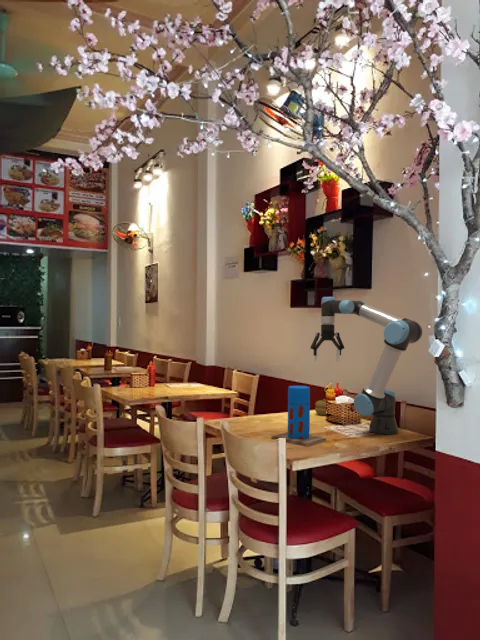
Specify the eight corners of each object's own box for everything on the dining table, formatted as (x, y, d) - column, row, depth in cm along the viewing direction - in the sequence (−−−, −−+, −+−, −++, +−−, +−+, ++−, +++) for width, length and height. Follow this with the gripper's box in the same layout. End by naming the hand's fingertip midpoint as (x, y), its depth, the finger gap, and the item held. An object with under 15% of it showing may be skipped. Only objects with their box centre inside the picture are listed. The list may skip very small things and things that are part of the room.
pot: (331, 413, 336) (331, 397, 336) (335, 416, 324) (335, 400, 324) (313, 413, 336) (313, 397, 336) (316, 416, 324) (316, 400, 324)
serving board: (325, 441, 259) (326, 438, 259) (307, 446, 248) (307, 443, 248) (290, 433, 274) (290, 431, 274) (271, 438, 263) (271, 435, 263)
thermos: (311, 439, 256) (311, 388, 256) (289, 439, 255) (290, 388, 255) (307, 434, 267) (307, 385, 267) (286, 434, 266) (286, 385, 266)
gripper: (344, 324, 303) (343, 360, 303) (304, 323, 295) (304, 361, 296) (350, 324, 296) (350, 361, 296) (310, 323, 288) (310, 362, 288)
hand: (327, 361), depth 296 cm, fingers open, 13 cm apart
